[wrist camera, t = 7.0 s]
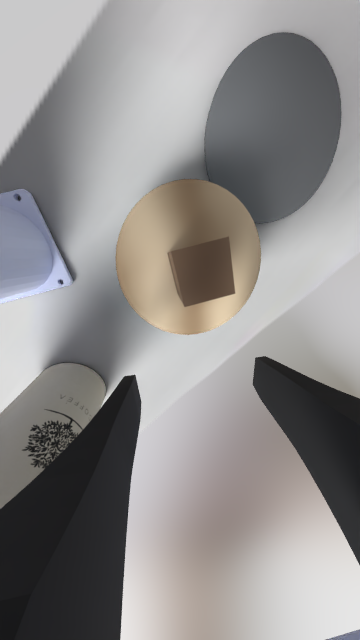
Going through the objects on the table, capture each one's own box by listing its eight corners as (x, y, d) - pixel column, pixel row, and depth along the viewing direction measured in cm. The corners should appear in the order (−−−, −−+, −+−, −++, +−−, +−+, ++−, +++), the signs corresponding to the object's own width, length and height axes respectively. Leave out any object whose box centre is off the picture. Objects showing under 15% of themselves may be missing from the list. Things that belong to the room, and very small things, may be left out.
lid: (144, 344, 15) (138, 380, 11) (93, 205, 11) (49, 171, 7) (258, 313, 15) (299, 335, 11) (249, 166, 11) (309, 108, 7)
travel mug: (63, 418, 23) (-204, 868, 6) (24, 374, 20) (-723, 1028, 3) (117, 398, 23) (-1, 800, 6) (86, 351, 20) (-332, 895, 3)
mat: (215, 236, 17) (217, 235, 16) (191, 61, 12) (192, 52, 12) (327, 207, 17) (332, 205, 17) (342, 26, 13) (351, 15, 12)
